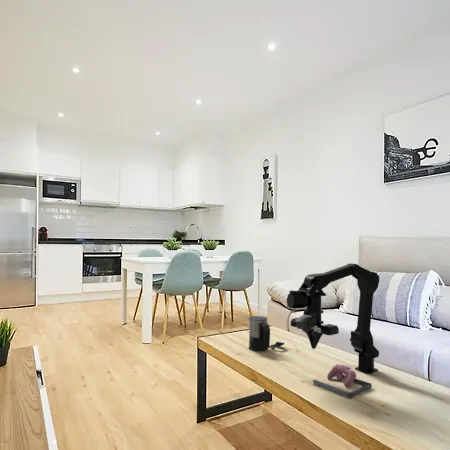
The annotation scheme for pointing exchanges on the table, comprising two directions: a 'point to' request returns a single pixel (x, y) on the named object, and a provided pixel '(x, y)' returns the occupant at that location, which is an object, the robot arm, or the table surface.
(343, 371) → the video game controller
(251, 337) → the milk frother
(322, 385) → the metal bay
